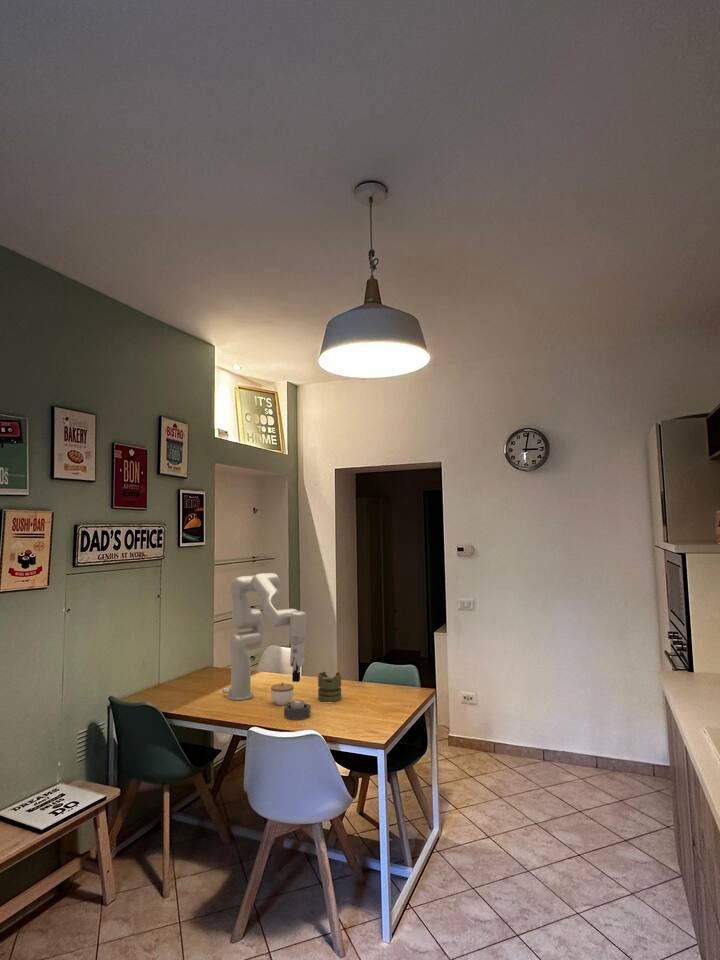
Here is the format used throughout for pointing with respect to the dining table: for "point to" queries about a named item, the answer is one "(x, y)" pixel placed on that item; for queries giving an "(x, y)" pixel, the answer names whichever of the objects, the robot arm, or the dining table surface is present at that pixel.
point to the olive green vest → (329, 687)
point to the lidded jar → (282, 693)
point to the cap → (297, 704)
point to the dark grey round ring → (297, 712)
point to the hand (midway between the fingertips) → (296, 681)
